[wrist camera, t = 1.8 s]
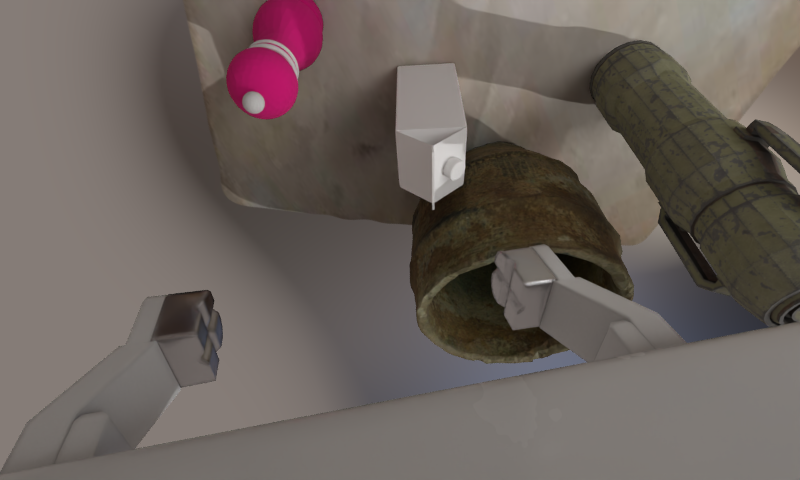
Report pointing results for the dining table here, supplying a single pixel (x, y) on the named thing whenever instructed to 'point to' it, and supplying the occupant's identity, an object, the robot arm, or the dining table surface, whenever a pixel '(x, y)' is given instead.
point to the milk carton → (430, 130)
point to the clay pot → (504, 230)
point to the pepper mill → (275, 57)
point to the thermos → (709, 180)
